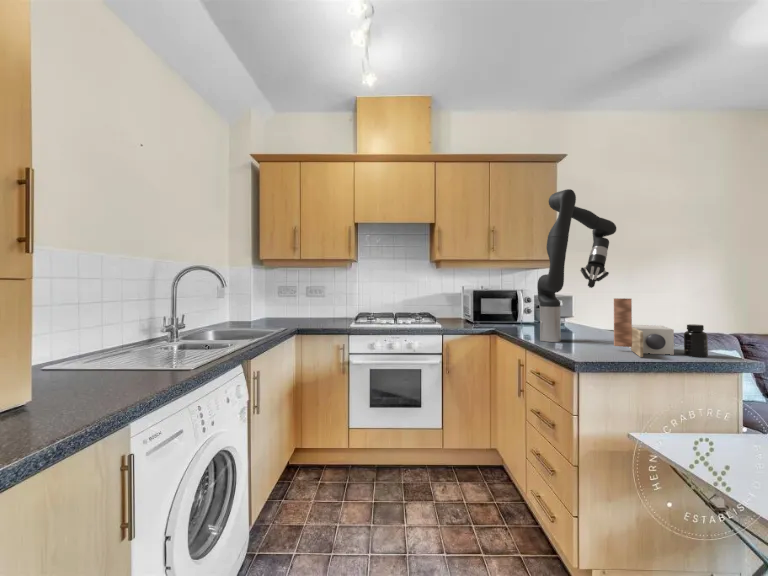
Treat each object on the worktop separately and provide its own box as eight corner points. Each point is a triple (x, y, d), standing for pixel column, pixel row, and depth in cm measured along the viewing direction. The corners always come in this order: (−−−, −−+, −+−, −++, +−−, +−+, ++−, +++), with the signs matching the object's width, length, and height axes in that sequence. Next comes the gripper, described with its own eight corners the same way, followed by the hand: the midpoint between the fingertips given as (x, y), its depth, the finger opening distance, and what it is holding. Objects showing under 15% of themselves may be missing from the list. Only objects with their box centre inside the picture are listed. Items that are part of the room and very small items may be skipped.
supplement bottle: (698, 354, 135) (697, 323, 135) (713, 357, 128) (712, 325, 128) (679, 354, 136) (679, 323, 136) (693, 357, 129) (692, 325, 129)
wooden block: (621, 355, 132) (620, 299, 132) (614, 349, 144) (613, 298, 144) (643, 357, 129) (642, 299, 129) (633, 350, 142) (633, 298, 142)
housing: (637, 353, 137) (637, 328, 137) (628, 347, 152) (628, 324, 151) (675, 355, 132) (675, 330, 132) (662, 348, 147) (661, 325, 146)
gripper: (584, 251, 176) (576, 281, 171) (614, 255, 170) (607, 287, 165) (582, 258, 182) (575, 287, 178) (611, 262, 176) (604, 292, 172)
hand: (590, 287), depth 171 cm, fingers closed
